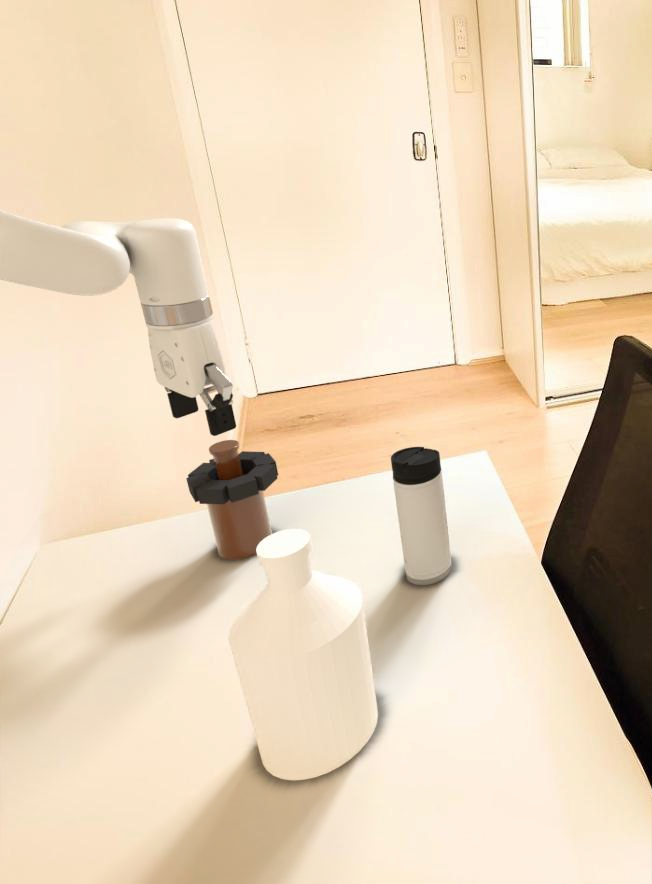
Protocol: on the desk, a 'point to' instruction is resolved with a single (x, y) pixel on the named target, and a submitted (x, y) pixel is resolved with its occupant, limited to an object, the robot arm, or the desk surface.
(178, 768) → the desk surface
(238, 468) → the amber bottle
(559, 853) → the desk surface
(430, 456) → the travel mug
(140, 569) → the desk surface
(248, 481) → the rubber ring
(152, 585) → the desk surface
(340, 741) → the bottle
